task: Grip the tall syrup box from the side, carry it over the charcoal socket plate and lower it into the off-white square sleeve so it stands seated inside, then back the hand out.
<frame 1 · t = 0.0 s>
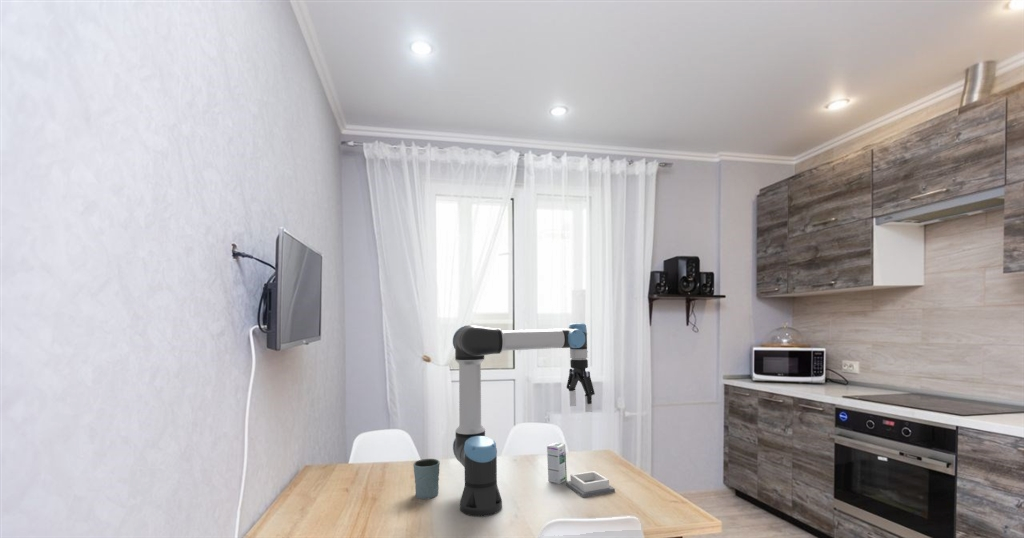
hand: (580, 408, 193), 28 cm above the table, tool pointing down, fingers open, 13 cm apart
socket plate: (589, 488, 177), on the table
teal cup: (426, 495, 174), on the table
syrup box: (557, 481, 186), on the table
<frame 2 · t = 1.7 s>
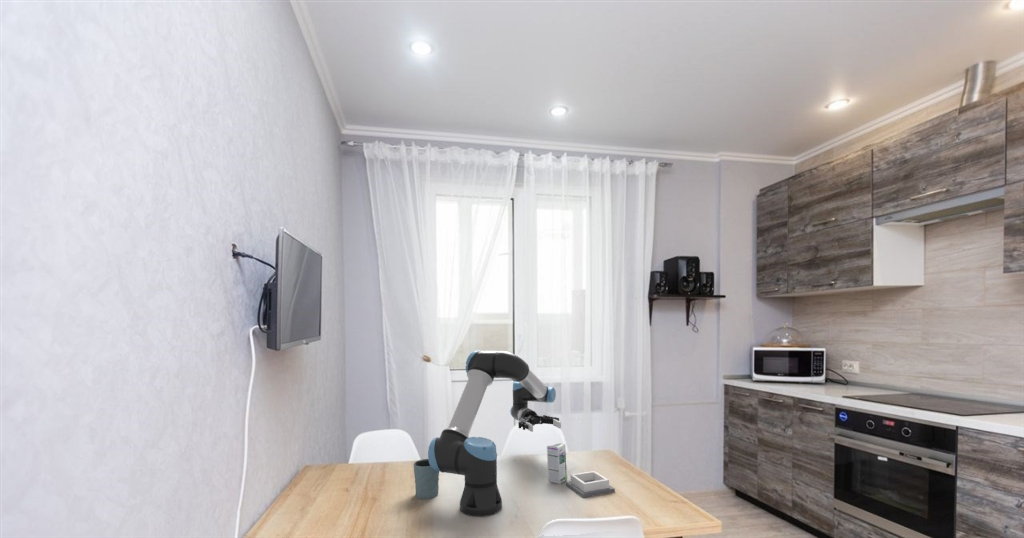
hand: (546, 426, 197), 20 cm above the table, tool horizontal, fingers open, 13 cm apart
nothing on the table moved.
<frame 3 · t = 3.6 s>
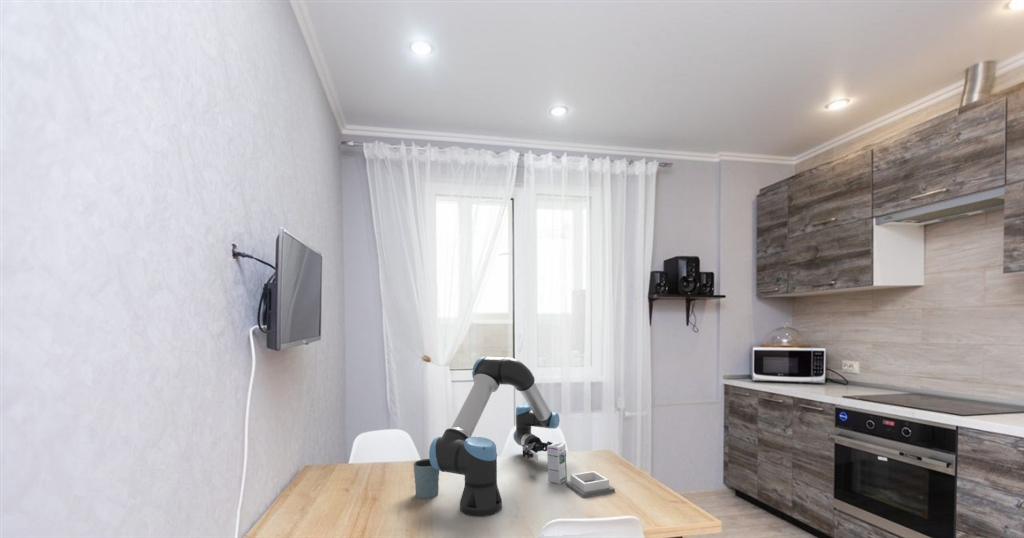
hand: (551, 455, 193), 8 cm above the table, tool horizontal, fingers open, 13 cm apart
nothing on the table moved.
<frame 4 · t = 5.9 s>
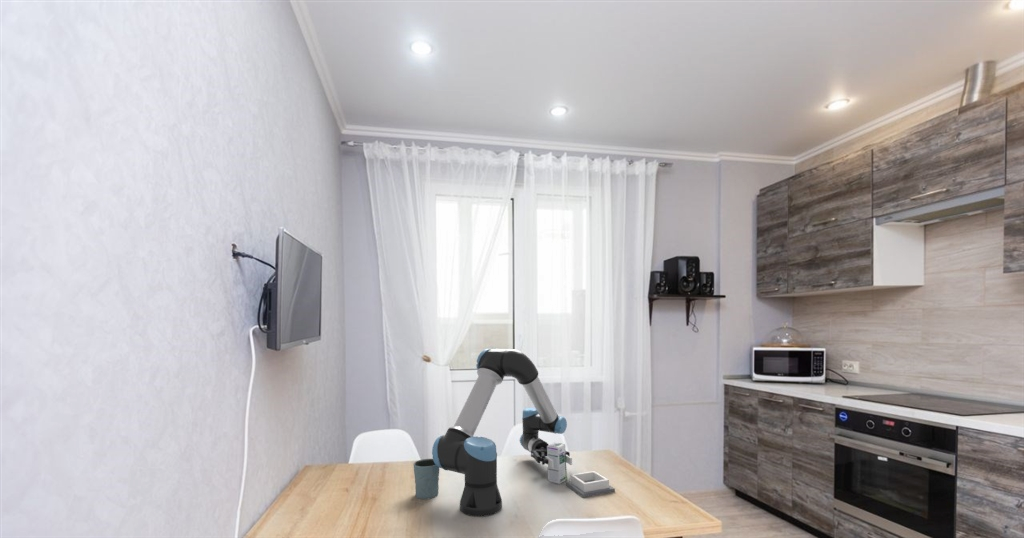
hand: (562, 462, 182), 9 cm above the table, tool horizontal, fingers closed on syrup box, 8 cm apart
syrup box: (557, 481, 186), on the table, touching gripper
everything else where it was.
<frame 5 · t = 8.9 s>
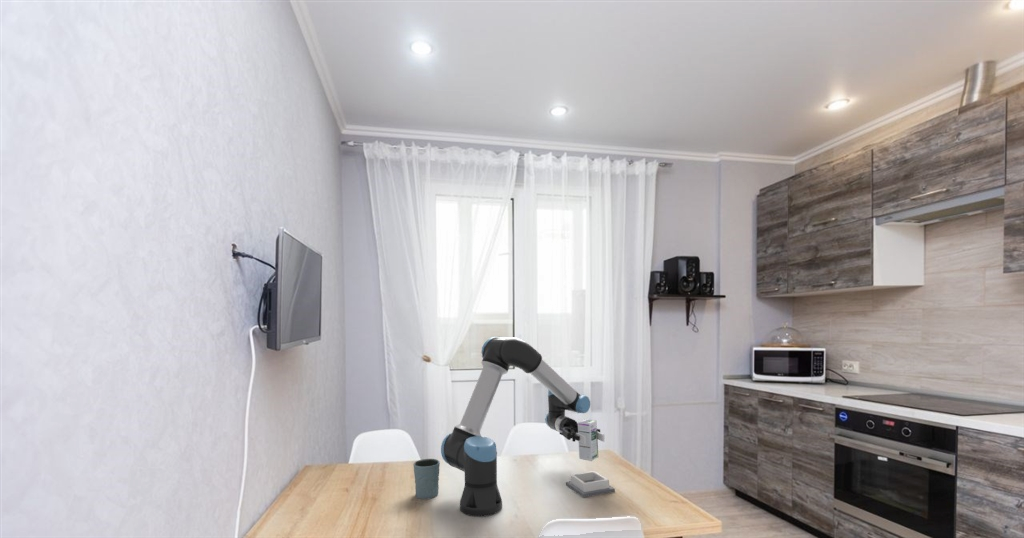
hand: (594, 439, 175), 20 cm above the table, tool horizontal, fingers closed on syrup box, 8 cm apart
syrup box: (588, 458, 178), point 11 cm above the table, touching gripper
everything else where it was.
when the fingers open (10 cm above the table, at t = 12.1 s): syrup box stays where it is, resting on socket plate.
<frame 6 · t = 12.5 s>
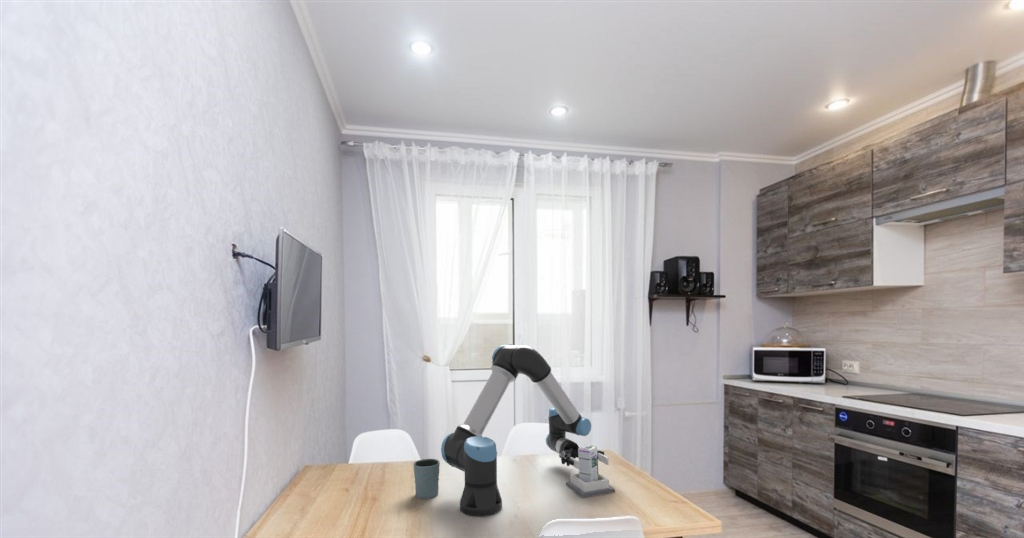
hand: (593, 463, 175), 10 cm above the table, tool horizontal, fingers open, 12 cm apart
syrup box: (589, 485, 177), point 1 cm above the table, touching socket plate
everything else where it was.
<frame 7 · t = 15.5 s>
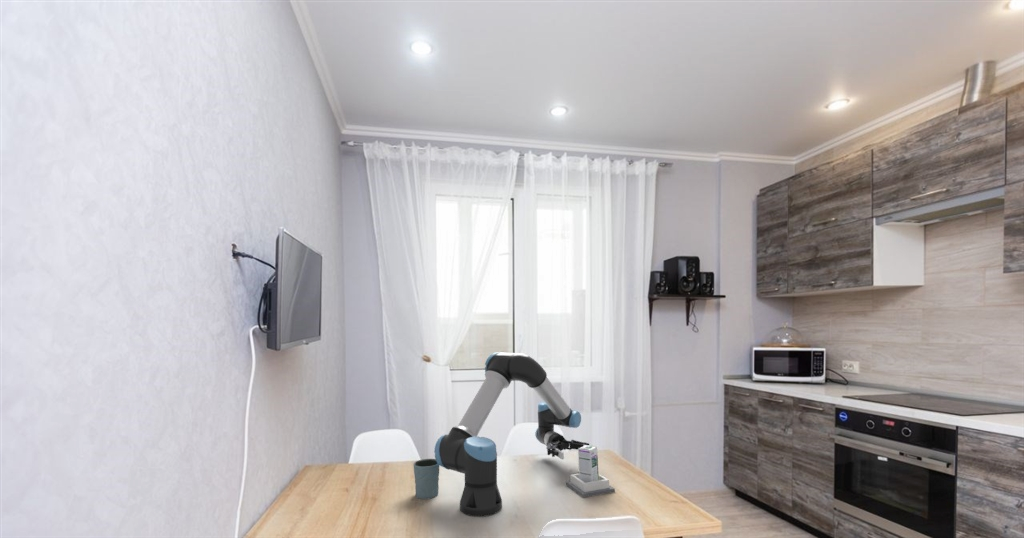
hand: (577, 454, 187), 11 cm above the table, tool horizontal, fingers open, 13 cm apart
nothing on the table moved.
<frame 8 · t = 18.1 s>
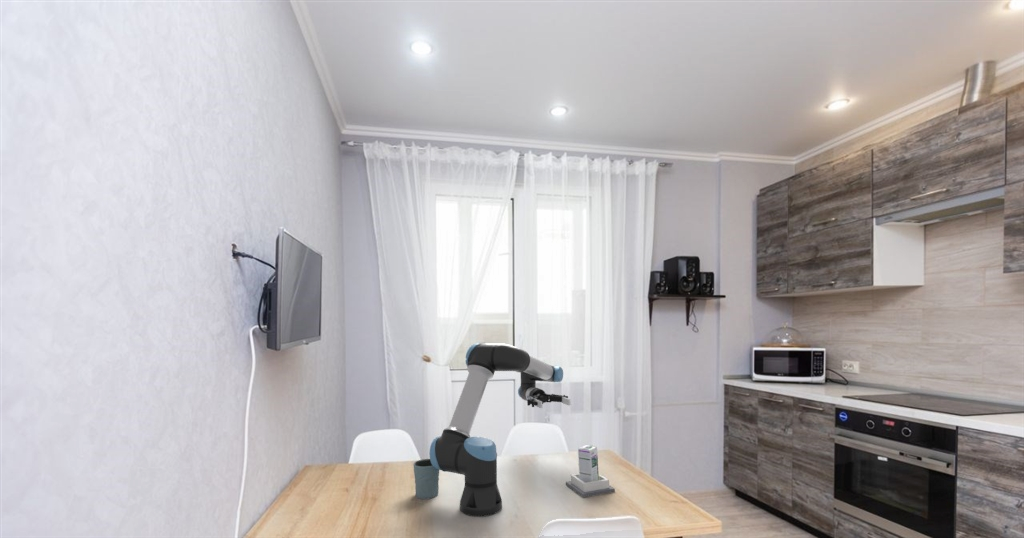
hand: (555, 403, 195), 30 cm above the table, tool horizontal, fingers open, 13 cm apart
nothing on the table moved.
at the end: syrup box 0.2 cm off-centre on the socket plate, point 1.0 cm above the socket plate's base; syrup box tilted 0°; the gripper is holding nothing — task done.
